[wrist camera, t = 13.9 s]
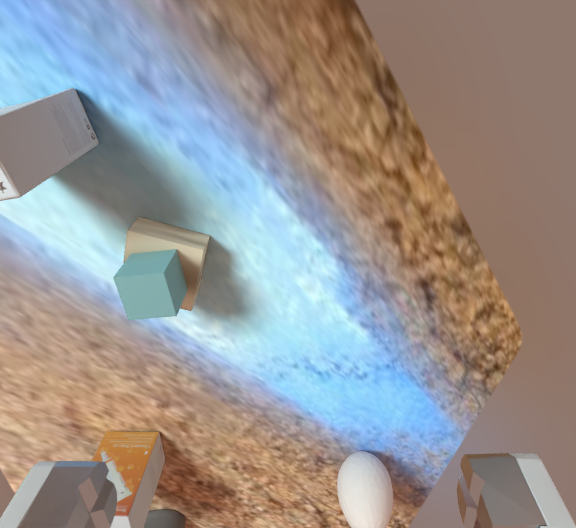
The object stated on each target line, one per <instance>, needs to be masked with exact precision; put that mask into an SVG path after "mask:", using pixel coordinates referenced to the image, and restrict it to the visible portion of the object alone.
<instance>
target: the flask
mask: <svg viewBox="0 0 576 528" xmlns="http://www.w3.org/2000/svg"><path fill="white" fill-rule="evenodd" d="M184 527H185V518H184V516H183V515H182V514H181V513H179V512H177V511H175V510H168V509H162V510H154V511H149V512H148V515H147V518H146V521H145V524H144V528H184Z"/></svg>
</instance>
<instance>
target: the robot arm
mask: <svg viewBox="0 0 576 528" xmlns="http://www.w3.org/2000/svg"><path fill="white" fill-rule="evenodd" d="M461 469H462V472H463V476H461V477H460V478H459V479H458V485H457V495H458V505H459V509H460V514H461V517H462V521H463V524H464V525H465V527H467V528H576V524H575V523H574V521H573V519H572V517H571V515H570V513H569V512H568V510H567V508H566V506H565V504H564V502H563V500H562V498H561V497H560V495H559V493H558V491H557V489H556V488H555V485H554V483H553V482H552V480H551V478H550V476H549V474H548V472H547V470H546V468H545V467H544V465H543V463H542V461H541V459H540V457H538V456H537V455H536V454H535V453H523V454H509V453H500V454H499V453H498V454H468V455H464V456H463V457H462V459H461ZM108 472H109V470H108V467H107V465H106V463H105V462H100V461H39V462H38V463H36V464H35V465H34V466H33V467H32V468H31V469H30V471H29V473H28V474H27V476H26V478H25V479H24V481H23V482H22V484H21V486H20V487H19V489H18V491H17V492H16V494H15V496H14V497H13V499H12V500H11V502H10V504H9V505H8V507H7V508H6V510H5V512H4V513H3V515H2V517H1V518H0V528H110V527H111V525H112V522H113V519H114V516H115V513H116V506H117V491H116V488H115V485H114V483H112V482H111V481H110V480H108V479H107V478H106V477H107V475H108Z"/></svg>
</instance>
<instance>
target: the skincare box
mask: <svg viewBox="0 0 576 528" xmlns="http://www.w3.org/2000/svg"><path fill="white" fill-rule="evenodd" d="M97 145H99V141H98V139H97V137H96V134H95V132H94V130H93V128H92V126H91V123H90V121H89V119H88V117H87V114H86V112H85V109H84V107H83V105H82V102H81V100H80V98H79V96H78V93H77V91H76V89H74V88H69V89H66V90H64V91H62V92H59V93H56V94H53V95H50V96H46V97H43V98H40V99H36V100H33V101H29V102H25V103H21V104H16V105H11V106H6V107H3V108H0V201H2V200H7V199H14V198H19V197H21V196H23V195H24V194H26V193H27V192H29V191H30V190H32V189H33V188H35V187H36V186H38V185H39V184H41V183H42V182H44V181H45V180H47V179H48V178H50V177H51V176H53V175H54V174H56V173H57V172H59V171H60V170H62V169H63V168H65V167H66V166H68V165H69V164H71V163H72V162H74V161H75V160H77V159H78V158H80V157H81V156H83V155H84V154H85V153H87V152H88V151H90V150H91V149H93V148H94V147H96V146H97Z"/></svg>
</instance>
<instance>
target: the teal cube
mask: <svg viewBox="0 0 576 528" xmlns="http://www.w3.org/2000/svg"><path fill="white" fill-rule="evenodd" d="M113 278H114V281H115V284H116V286H117V289H118V292H119V295H120V298H121V300H122V303H123V306H124V309H125V311H126V314H127V317H128V320H135V319H147V318H159V317H170V316H177V314H178V311H179V309H180V307H181V304H182V302H183V300H184V298H185V295H186V293H187V291H188V288H187V284H186V281H185V277H184V273H183V270H182V266H181V262H180V259H179V255H178V251H177V249H173V250H163V251H153V252H143V253H133V254H130V256H129V257H128V259H127V260H126V261H125V263H124V264H123V265H122V267H121V268H120V269H119V271H118V272H117V273H116V275H115V276H114V277H113Z"/></svg>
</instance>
